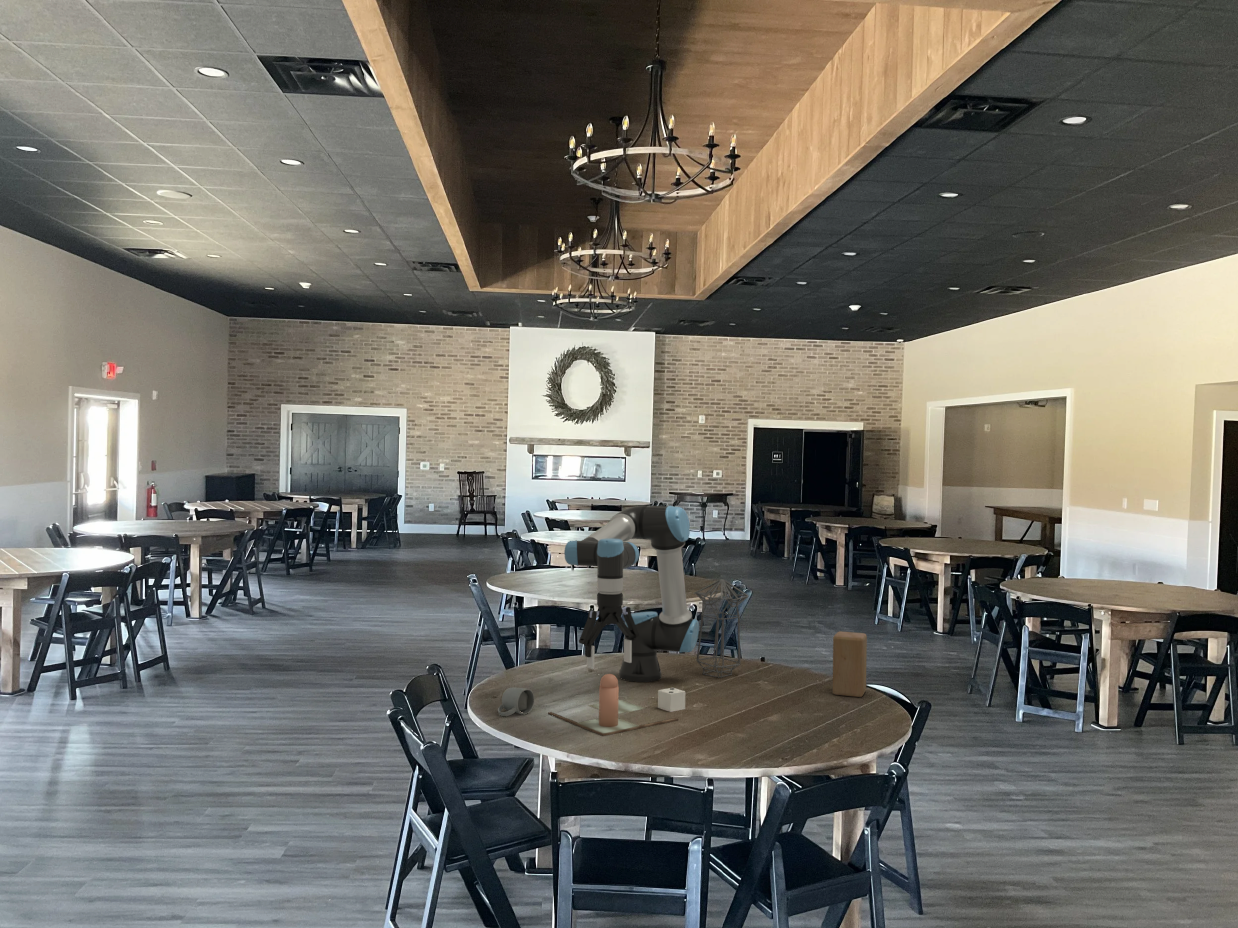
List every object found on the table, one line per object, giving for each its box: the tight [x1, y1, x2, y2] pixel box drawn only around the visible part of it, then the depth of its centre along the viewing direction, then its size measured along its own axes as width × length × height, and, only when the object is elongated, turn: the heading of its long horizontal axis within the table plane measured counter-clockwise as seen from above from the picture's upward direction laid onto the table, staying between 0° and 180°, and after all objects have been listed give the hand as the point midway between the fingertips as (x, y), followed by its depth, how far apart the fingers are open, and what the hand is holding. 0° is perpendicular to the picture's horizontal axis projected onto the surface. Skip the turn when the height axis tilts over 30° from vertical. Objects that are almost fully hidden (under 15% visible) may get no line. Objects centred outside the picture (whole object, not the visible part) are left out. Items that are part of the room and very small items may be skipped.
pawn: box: [598, 673, 620, 727], centre depth 270 cm, size 6×6×15 cm
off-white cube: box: [657, 687, 686, 713], centre depth 288 cm, size 6×6×6 cm
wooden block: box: [832, 630, 868, 698], centre depth 314 cm, size 10×10×20 cm
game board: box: [547, 699, 679, 737], centre depth 279 cm, size 28×28×1 cm
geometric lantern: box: [693, 578, 749, 679], centre depth 339 cm, size 16×16×35 cm
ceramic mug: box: [497, 686, 535, 717], centre depth 282 cm, size 11×8×8 cm
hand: (609, 664), depth 270 cm, fingers open, 13 cm apart
